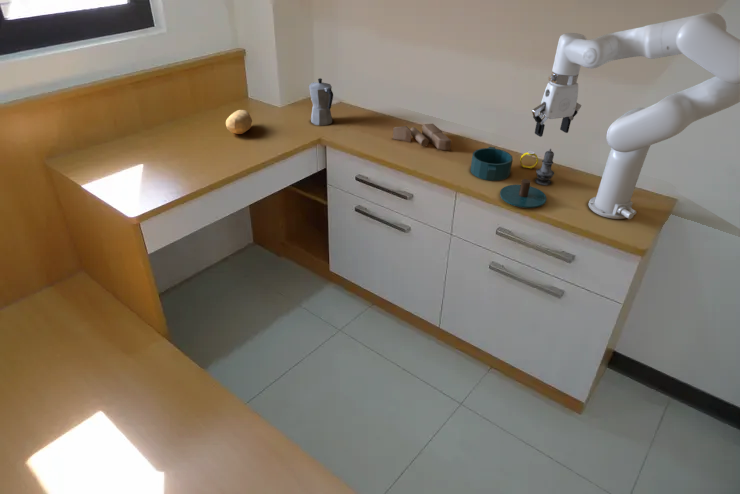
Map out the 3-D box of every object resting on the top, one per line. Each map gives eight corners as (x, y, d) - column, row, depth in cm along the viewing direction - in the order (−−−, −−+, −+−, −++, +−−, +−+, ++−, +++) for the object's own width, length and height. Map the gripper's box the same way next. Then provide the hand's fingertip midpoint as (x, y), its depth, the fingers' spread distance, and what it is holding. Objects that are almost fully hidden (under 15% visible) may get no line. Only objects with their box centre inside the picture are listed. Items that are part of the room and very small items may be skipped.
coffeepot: (303, 119, 217) (301, 76, 207) (322, 114, 222) (321, 72, 212) (323, 130, 207) (321, 86, 197) (342, 125, 212) (342, 82, 202)
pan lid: (543, 190, 169) (547, 173, 165) (548, 212, 157) (552, 194, 153) (499, 185, 171) (502, 168, 167) (500, 207, 159) (503, 189, 155)
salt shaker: (552, 186, 171) (560, 153, 164) (534, 184, 172) (541, 151, 165) (551, 178, 175) (559, 145, 169) (533, 176, 176) (540, 144, 169)
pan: (508, 162, 186) (511, 146, 182) (510, 186, 170) (513, 169, 167) (471, 158, 188) (473, 143, 184) (469, 182, 172) (472, 165, 169)
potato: (256, 125, 211) (254, 106, 206) (248, 139, 199) (246, 119, 195) (233, 124, 211) (230, 105, 207) (223, 138, 200) (220, 118, 195)
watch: (518, 168, 182) (522, 152, 178) (518, 165, 184) (521, 149, 180) (536, 170, 181) (539, 154, 177) (535, 166, 183) (539, 151, 179)
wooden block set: (432, 119, 204) (452, 137, 190) (431, 133, 207) (450, 151, 193) (392, 124, 199) (410, 142, 185) (391, 137, 202) (409, 156, 188)
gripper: (547, 84, 146) (535, 141, 156) (596, 79, 151) (581, 134, 161) (531, 77, 152) (521, 132, 162) (579, 72, 157) (566, 125, 167)
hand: (551, 133), depth 162 cm, fingers open, 9 cm apart
